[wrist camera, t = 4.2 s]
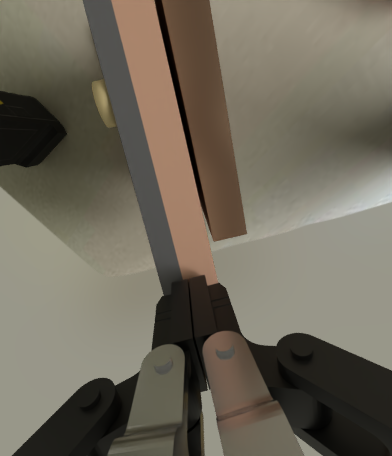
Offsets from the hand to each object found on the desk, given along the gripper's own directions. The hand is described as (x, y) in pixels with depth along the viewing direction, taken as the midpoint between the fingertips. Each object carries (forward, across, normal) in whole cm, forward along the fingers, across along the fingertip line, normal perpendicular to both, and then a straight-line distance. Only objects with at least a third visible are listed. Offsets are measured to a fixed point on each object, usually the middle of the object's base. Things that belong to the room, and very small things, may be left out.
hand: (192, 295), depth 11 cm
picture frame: (+17, 0, -6) cm, 18 cm away
